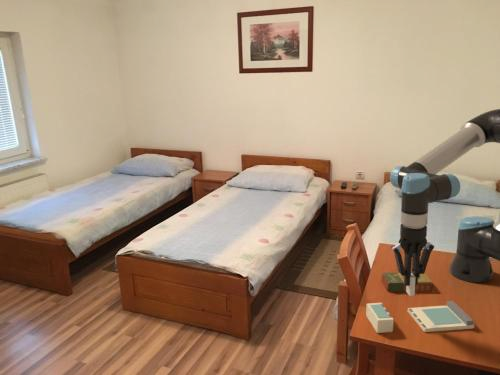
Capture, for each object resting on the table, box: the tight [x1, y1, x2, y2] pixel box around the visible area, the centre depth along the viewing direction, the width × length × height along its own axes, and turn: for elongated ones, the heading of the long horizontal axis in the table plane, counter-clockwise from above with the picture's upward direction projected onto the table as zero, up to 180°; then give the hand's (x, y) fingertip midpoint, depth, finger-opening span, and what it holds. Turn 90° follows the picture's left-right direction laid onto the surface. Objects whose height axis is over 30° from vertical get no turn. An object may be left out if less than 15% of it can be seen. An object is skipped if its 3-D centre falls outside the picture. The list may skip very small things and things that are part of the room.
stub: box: [365, 302, 394, 334], centre depth 137 cm, size 5×10×4 cm, turn 5°
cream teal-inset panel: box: [407, 300, 475, 333], centre depth 139 cm, size 16×12×3 cm
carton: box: [380, 271, 433, 293], centre depth 161 cm, size 8×16×4 cm, turn 89°
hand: (410, 293), depth 136 cm, fingers closed
